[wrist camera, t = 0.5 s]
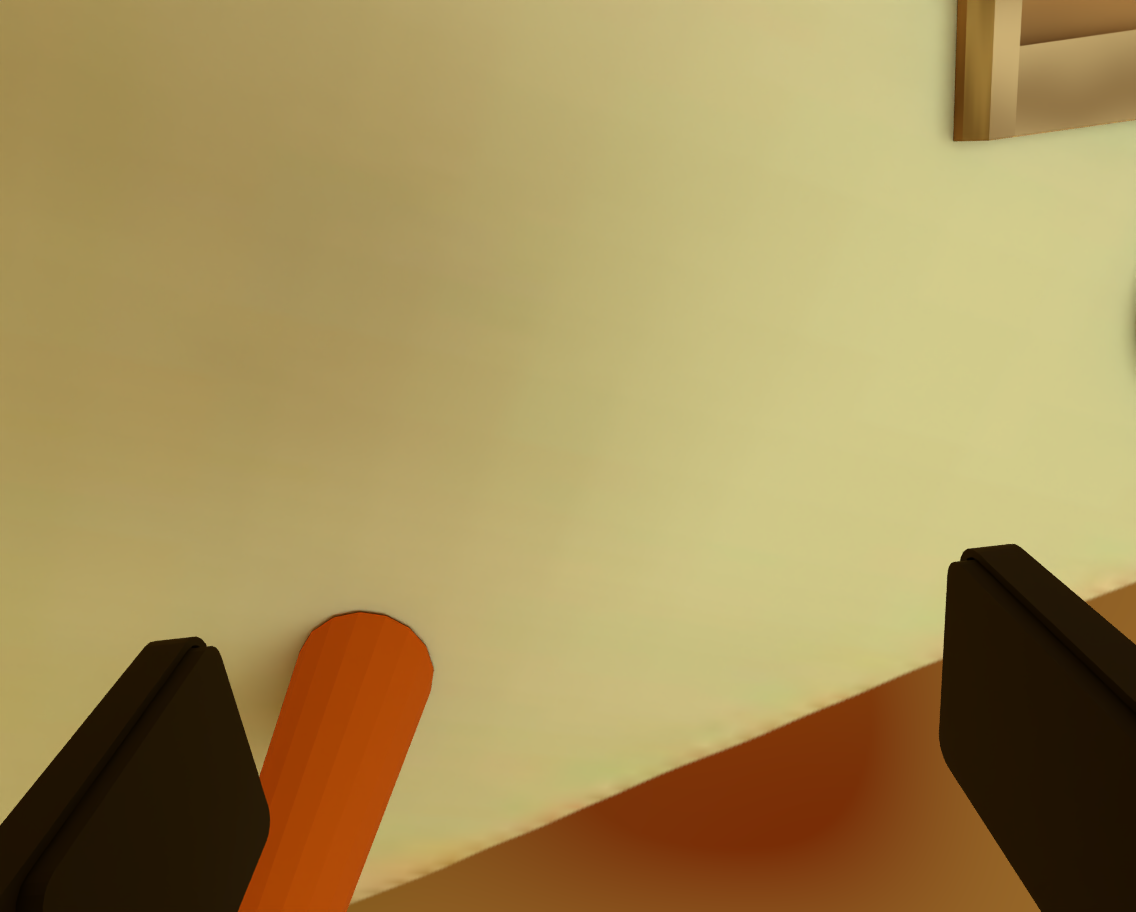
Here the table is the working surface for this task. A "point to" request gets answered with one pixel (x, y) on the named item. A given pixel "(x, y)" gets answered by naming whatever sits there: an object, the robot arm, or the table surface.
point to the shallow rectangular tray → (1043, 66)
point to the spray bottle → (336, 760)
